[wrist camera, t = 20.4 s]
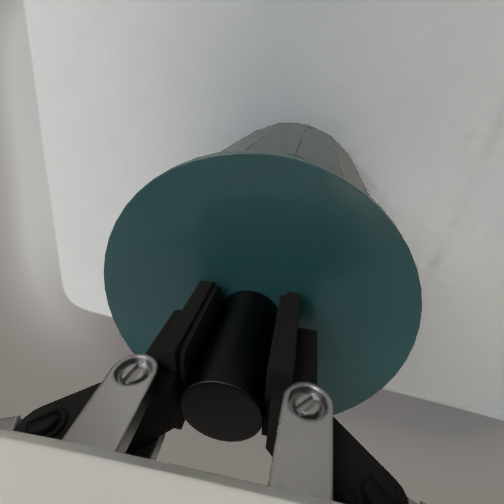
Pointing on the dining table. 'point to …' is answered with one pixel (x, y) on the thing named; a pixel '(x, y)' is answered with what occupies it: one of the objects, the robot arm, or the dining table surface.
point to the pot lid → (264, 279)
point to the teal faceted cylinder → (302, 147)
